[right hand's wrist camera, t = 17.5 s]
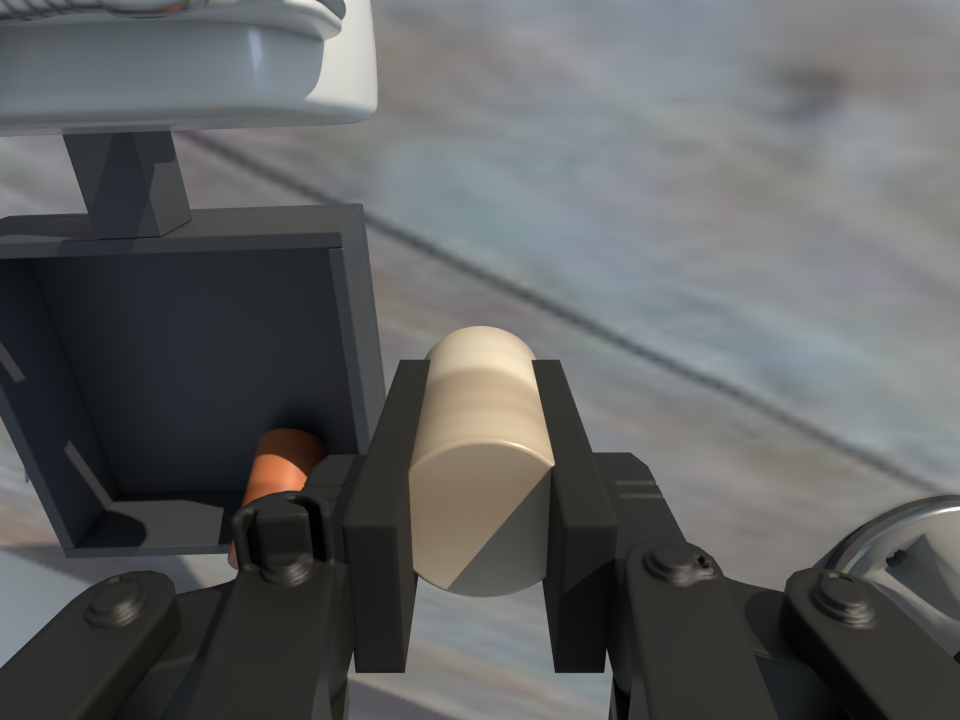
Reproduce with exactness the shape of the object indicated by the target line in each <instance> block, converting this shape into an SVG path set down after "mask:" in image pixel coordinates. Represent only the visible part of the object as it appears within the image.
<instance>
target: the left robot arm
mask: <svg viewBox="0 0 960 720" xmlns="http://www.w3.org/2000/svg"><path fill="white" fill-rule="evenodd" d="M377 103H378V85H377V68H376V52H375V41H374V31H373V22H372V12H371V4H370V0H0V137H6V136H34V135H63V134H92V133H120V132H149V131H177V130H206V129H235V128H263V127H292V126H320V125H342V124H351V123H356V122H360V121H364V120H367V119H369V118H370V117H371V116H372V115H373V114H374V113H375V111H376V108H377Z"/></svg>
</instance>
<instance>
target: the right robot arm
mask: <svg viewBox="0 0 960 720" xmlns="http://www.w3.org/2000/svg"><path fill="white" fill-rule="evenodd" d="M531 361H532V366H533V370H534V375H535V379H536V383H537V388H538V392H539V396H540V401H541V405H542V409H543V414H544V418H545V423H546V427H547V431H548V436H549V440H550V444H551V449H552V453H553V457H554V462H555V465H554V466H552V467H551V484H550V505H549V525H548V545H547V566H546V577H545V578H544V579H542V583H543V590H544V597H545V604H546V611H547V618H548V625H549V633H550V640H551V647H552V654H553V661H554V668H555V673H604V669H605V659H606V648H607V651H608V655H609V659H610V663H611V667H612V671H613V680H612V690H611V700H610V709H609V719H608V720H960V495H948V496H938V497H931V498H926V499H922V500H917V501H914V502H911V503H907V504H905V505H902V506H900V507H897V508H894V509H892V510H890V511H888V512H886V513H884V514H882V515H880V516H879V517H877V518H875V519H873V520H872V521H870V522H869V523H867V524H866V525H864V526H863V527H862V528H861V529H859V530H858V531H857V532H856V533H854V534H853V535H852V536H851V537H850V538H849V539H848V540H847V541H846V542H845V543H844V544H843V545H842V546H841V547H840V548H839V550H838V551H837V552H836V554H835V555H834V556H833V558H832V559H831V561H830V562H829V564H828V566H827V568H826V569H819V568H808V569H804V570H801V571H797V572H794V574H793V575H792V576H791V577H790V578H789V579H788V580H787V581H786V586H785V590H784V592H781V591H776V590H772V589H767V588H762V587H758V586H753V585H749V584H745V583H742V582H738V581H735V580H732V579H729V578H727V577H725V576H724V575H723V573H722V570H721V569H720V567H719V566H718V564H717V563H716V561H715V560H714V558H713V557H712V556H710V555H709V554H708V553H706V552H705V551H704V550H702V549H701V548H700V547H697V546H695V545H693V544H690V543H688V542H686V540H685V538H684V536H683V534H682V532H681V530H680V528H679V526H678V524H677V522H676V520H675V518H674V516H673V515H672V513H671V511H670V509H669V507H668V505H667V503H666V501H665V499H664V498H663V497H662V493H661V491H660V489H659V487H658V485H656V481H655V479H654V477H653V475H652V473H651V472H650V470H649V468H648V466H647V465H646V464H644V463H643V462H642V461H640V460H639V459H638V458H637V457H635V456H634V455H633V454H631V453H593V452H592V449H591V447H590V444H589V441H588V438H587V435H586V433H585V430H584V427H583V424H582V422H581V419H580V416H579V413H578V410H577V408H576V405H575V402H574V399H573V396H572V394H571V391H570V388H569V385H568V382H567V380H566V377H565V374H564V371H563V368H562V366H561V363H560V360H531ZM429 366H430V360H400V362H399V365H398V368H397V371H396V374H395V376H394V379H393V382H392V385H391V388H390V390H389V393H388V396H387V399H386V401H385V404H384V407H383V410H382V413H381V415H380V418H379V421H378V424H377V427H376V429H375V432H374V435H373V438H372V441H371V443H370V446H369V449H368V452H367V454H330V455H328V456H327V457H326V458H325V459H323V460H322V461H321V462H319V463H318V464H317V465H316V466H314V467H313V468H312V470H311V472H310V474H309V476H308V477H307V479H306V481H305V483H304V487H302V489H301V491H294V490H288V491H282V492H276V493H270V494H268V495H265V496H262V497H260V498H257V499H254V500H252V501H251V502H249V503H248V504H246V505H245V506H243V507H242V508H240V509H239V510H238V511H237V512H236V514H235V515H234V516H233V517H232V519H231V520H230V523H231V529H232V535H233V540H234V546H235V552H236V558H237V564H238V569H239V571H238V574H237V576H236V579H234V580H232V581H229V582H227V583H223V584H220V585H216V586H213V587H209V588H204V589H200V590H195V591H191V592H186V593H182V594H177V595H176V591H175V587H174V583H173V582H172V581H171V580H170V579H169V578H168V577H167V576H166V575H165V574H161V573H158V572H154V571H133V572H128V573H124V574H121V575H117V576H113V577H110V578H108V579H106V580H104V581H102V582H99V583H97V584H95V585H93V586H91V587H89V588H88V589H86V590H85V591H84V592H82V593H81V594H80V595H78V596H77V597H76V598H74V599H73V600H72V601H71V602H70V603H69V604H67V605H66V606H65V607H64V608H63V609H62V610H61V611H60V612H59V613H58V614H57V615H56V616H55V617H54V618H53V619H52V620H51V621H50V622H49V623H48V624H47V625H45V626H44V627H43V628H42V629H41V630H40V631H39V632H38V633H37V634H36V635H35V636H34V637H33V638H32V639H31V640H30V641H29V642H28V643H26V644H25V645H24V646H23V647H22V648H21V649H20V650H19V651H18V652H17V653H16V654H15V655H14V656H13V657H12V658H11V659H10V660H9V661H8V662H7V663H6V664H5V665H3V666H2V667H1V668H0V720H348V711H349V702H350V700H349V690H348V680H347V673H348V669H349V665H350V661H351V657H352V653H353V650H354V661H355V671H356V673H405V667H406V660H407V653H408V645H409V638H410V631H411V624H412V617H413V610H414V603H415V596H416V589H417V581H418V575H417V574H416V573H415V572H414V570H413V552H412V532H411V512H410V492H409V466H410V461H411V457H412V452H413V447H414V442H415V437H416V432H417V427H418V423H419V418H420V413H421V408H422V403H423V398H424V393H425V389H426V383H427V377H428V372H429Z"/></svg>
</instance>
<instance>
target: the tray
mask: <svg viewBox="0 0 960 720" xmlns="http://www.w3.org/2000/svg"><path fill="white" fill-rule="evenodd" d="M63 138H64V141H65V144H66V147H67V150H68V153H69V156H70V159H71V162H72V165H73V168H74V171H75V174H76V177H77V180H78V183H79V186H80V189H81V192H82V195H83V198H84V202H85V205H86V208H87V211H88V213H79V214H51V215H23V216H8V217H5V218H2V219H0V416H1V418H2V420H3V422H4V424H5V426H6V428H7V431H8V433H9V435H10V437H11V439H12V441H13V443H14V446H15V448H16V450H17V452H18V454H19V456H20V458H21V460H22V463H23V465H24V467H25V469H26V471H27V473H28V475H29V478H30V480H31V482H32V484H33V486H34V488H35V490H36V492H37V495H38V497H39V499H40V501H41V503H42V505H43V507H44V510H45V512H46V514H47V516H48V518H49V520H50V522H51V524H52V527H53V529H54V531H55V533H56V535H57V537H58V539H59V542H60V544H61V546H62V548H64V552H65V554H66V556H67V558H85V557H121V556H156V555H192V554H227V553H229V551H230V547H231V543H232V539H233V535H232V529H231V523H230V520H231V519H232V517H233V516H234V515H235V514H236V512H237V511H238V510H239V509H240V508H241V506H242V502H243V498H244V495H245V491H246V487H247V484H248V480H249V476H250V472H251V469H252V465H253V461H254V457H255V454H256V450H257V446H258V443H259V439H260V438H261V436H262V435H263V434H265V433H266V432H268V431H270V430H274V429H279V428H292V429H298V430H302V431H306V432H308V433H311V434H313V435H315V436H316V437H318V438H319V439H320V440H321V441H322V442H323V444H324V446H325V456H324V459H325V458H326V457H327V456H328V455H330V454H367V452H368V449H369V446H370V443H371V441H372V438H373V435H374V432H375V429H376V427H377V424H378V421H379V418H380V415H381V413H382V410H383V407H384V404H385V401H386V391H385V383H384V374H383V366H382V358H381V350H380V342H379V334H378V325H377V317H376V309H375V301H374V293H373V284H372V276H371V268H370V260H369V252H368V243H367V235H366V227H365V219H364V211H363V205H362V204H334V205H305V206H277V207H249V208H221V209H192V210H190V207H189V203H188V200H187V196H186V192H185V188H184V184H183V180H182V176H181V172H180V168H179V164H178V160H177V156H176V152H175V148H174V144H173V140H172V136H171V132H170V131H149V132H120V133H92V134H63Z"/></svg>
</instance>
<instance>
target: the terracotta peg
mask: <svg viewBox="0 0 960 720" xmlns="http://www.w3.org/2000/svg"><path fill="white" fill-rule="evenodd" d="M324 456H325V446H324V444H323V442H322V441H321V440H320V439H319V438H318V437H316V436H315V435H313V434H311V433H308V432H306V431H302V430H298V429H292V428H279V429H274V430H270V431H268V432H266V433H265V434H263V435H262V436H261V438H260V439H259V443H258V446H257V450H256V454H255V457H254V461H253V465H252V469H251V472H250V476H249V480H248V484H247V487H246V491H245V495H244V498H243V502H242V506H241V508H242V507H243V506H245V505H246V504H248V503H249V502H251V501H252V500H254V499H257V498H260V497H262V496H265V495H268V494H270V493H276V492H282V491H288V490H294V491H301V489H302V487H304V483H305V481H306V479H307V477H308V476H309V474H310V472H311V470H312V468H313V467H314V466H316V465H317V464H318V463H319V462H321V461H322V460H323V459H324ZM228 563H229V564H230V565H231V566H232V567H233V568H234V569H236V570H238V571H239V569H238V564H237V558H236V552H235V546H234V540H233V539H232V543H231V547H230V551H229V554H228Z"/></svg>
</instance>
